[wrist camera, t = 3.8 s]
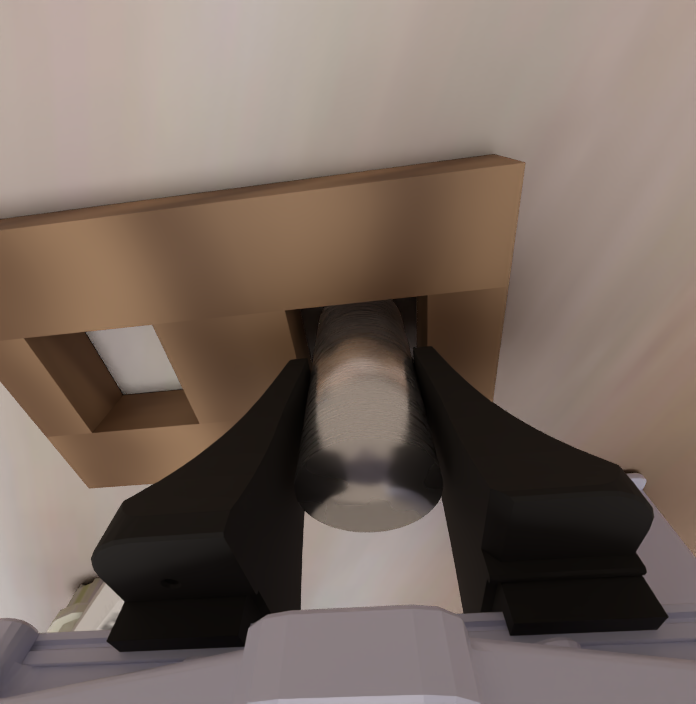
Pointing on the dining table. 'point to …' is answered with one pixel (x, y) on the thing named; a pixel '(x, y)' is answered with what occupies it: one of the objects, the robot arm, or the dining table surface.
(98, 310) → the wooden holder tray
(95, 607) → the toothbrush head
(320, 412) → the steel pin
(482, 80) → the dining table surface
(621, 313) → the dining table surface
